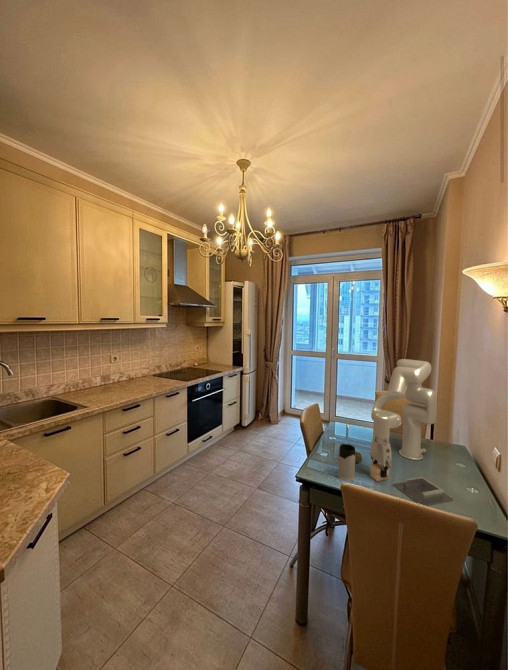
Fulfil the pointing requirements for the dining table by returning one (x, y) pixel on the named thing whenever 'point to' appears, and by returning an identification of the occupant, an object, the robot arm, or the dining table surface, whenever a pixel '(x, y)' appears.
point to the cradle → (422, 491)
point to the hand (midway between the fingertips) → (379, 473)
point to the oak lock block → (377, 472)
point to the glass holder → (346, 461)
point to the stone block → (358, 457)
